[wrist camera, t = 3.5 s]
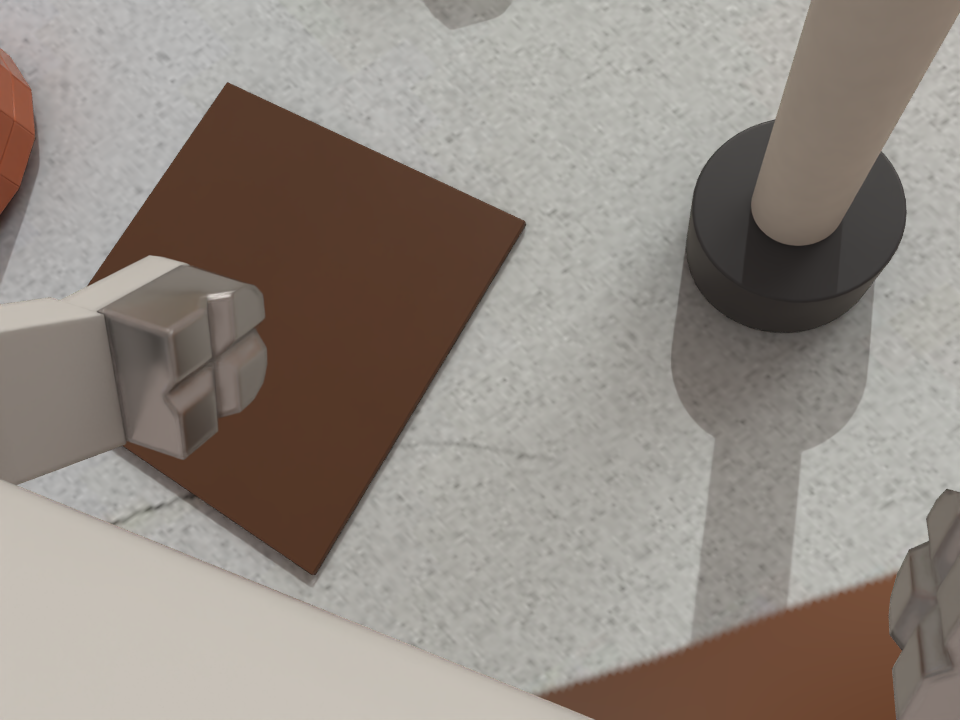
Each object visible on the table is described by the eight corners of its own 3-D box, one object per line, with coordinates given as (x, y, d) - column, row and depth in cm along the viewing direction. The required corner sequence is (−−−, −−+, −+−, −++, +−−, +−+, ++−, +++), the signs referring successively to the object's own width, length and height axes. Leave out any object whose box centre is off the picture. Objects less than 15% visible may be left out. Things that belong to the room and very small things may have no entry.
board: (315, 575, 26) (311, 574, 26) (28, 380, 30) (23, 378, 30) (526, 224, 28) (525, 220, 28) (230, 86, 32) (227, 81, 32)
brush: (827, 365, 25) (1044, 117, 12) (654, 284, 27) (672, -11, 13) (909, 208, 26) (1197, -189, 13) (736, 139, 28) (829, -273, 14)
